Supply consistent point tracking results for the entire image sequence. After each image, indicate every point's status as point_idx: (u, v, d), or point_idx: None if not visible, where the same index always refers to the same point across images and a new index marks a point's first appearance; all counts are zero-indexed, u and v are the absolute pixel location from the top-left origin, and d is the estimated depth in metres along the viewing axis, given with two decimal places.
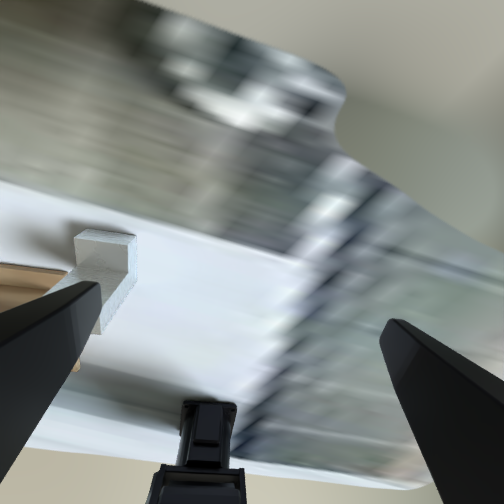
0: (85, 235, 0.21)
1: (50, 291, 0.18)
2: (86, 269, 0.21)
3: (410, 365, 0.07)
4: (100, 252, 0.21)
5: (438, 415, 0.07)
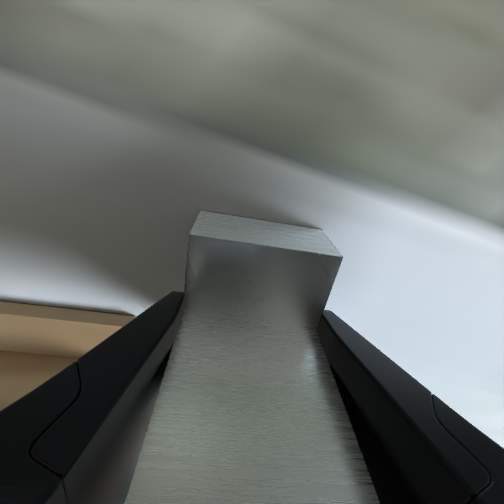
0: (215, 229, 0.07)
1: (149, 452, 0.04)
2: (212, 325, 0.07)
3: (326, 356, 0.07)
4: (258, 277, 0.07)
5: (346, 407, 0.06)
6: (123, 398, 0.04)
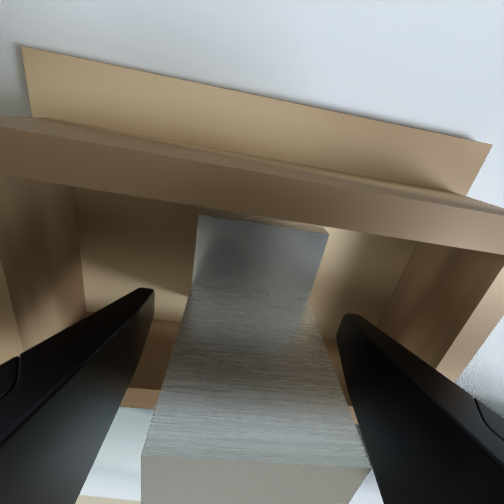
0: (220, 211, 0.08)
1: (171, 378, 0.06)
2: (217, 294, 0.09)
3: (359, 360, 0.07)
4: (257, 252, 0.08)
5: (382, 409, 0.06)
6: (62, 393, 0.04)
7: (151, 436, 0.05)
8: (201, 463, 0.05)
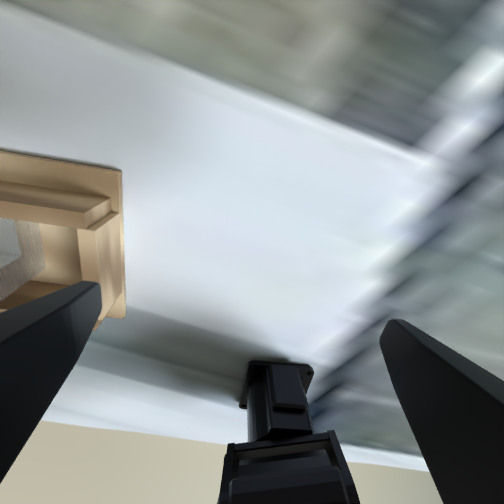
0: None
1: None
2: None
3: (410, 365, 0.07)
4: None
5: (438, 414, 0.07)
6: None
7: None
8: None
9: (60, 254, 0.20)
